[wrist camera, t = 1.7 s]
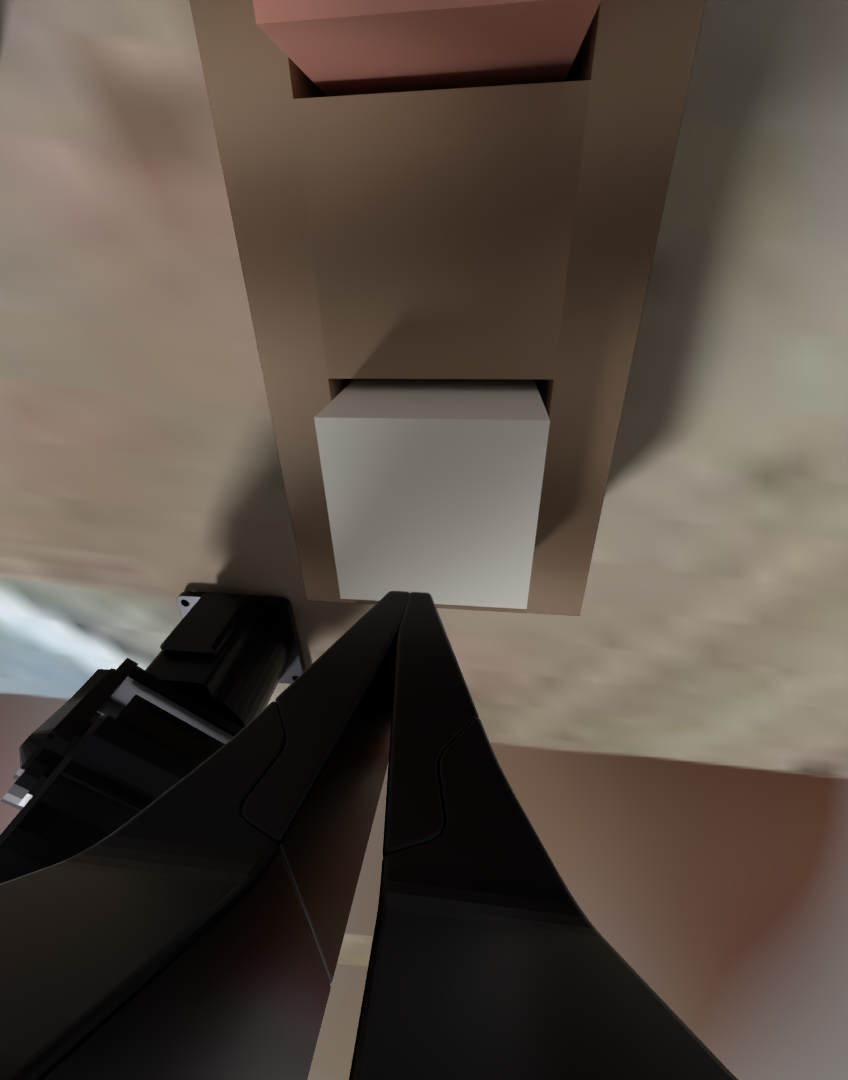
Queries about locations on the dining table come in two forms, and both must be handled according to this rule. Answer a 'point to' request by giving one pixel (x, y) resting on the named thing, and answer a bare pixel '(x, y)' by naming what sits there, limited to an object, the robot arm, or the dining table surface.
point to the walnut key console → (453, 248)
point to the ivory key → (434, 488)
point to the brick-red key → (426, 41)
